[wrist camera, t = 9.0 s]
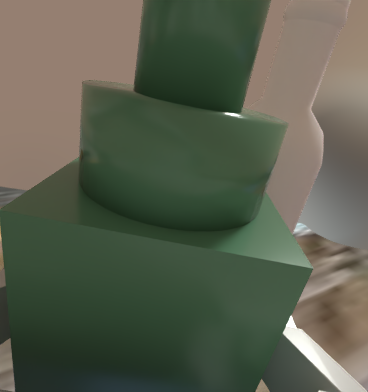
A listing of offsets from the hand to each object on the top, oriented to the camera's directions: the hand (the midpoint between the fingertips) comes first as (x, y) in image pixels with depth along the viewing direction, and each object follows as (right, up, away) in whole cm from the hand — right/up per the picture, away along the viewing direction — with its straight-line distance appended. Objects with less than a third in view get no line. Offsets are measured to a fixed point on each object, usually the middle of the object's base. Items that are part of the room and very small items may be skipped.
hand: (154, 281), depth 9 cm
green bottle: (-2, -11, +4) cm, 12 cm away
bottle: (+4, -11, +20) cm, 23 cm away
